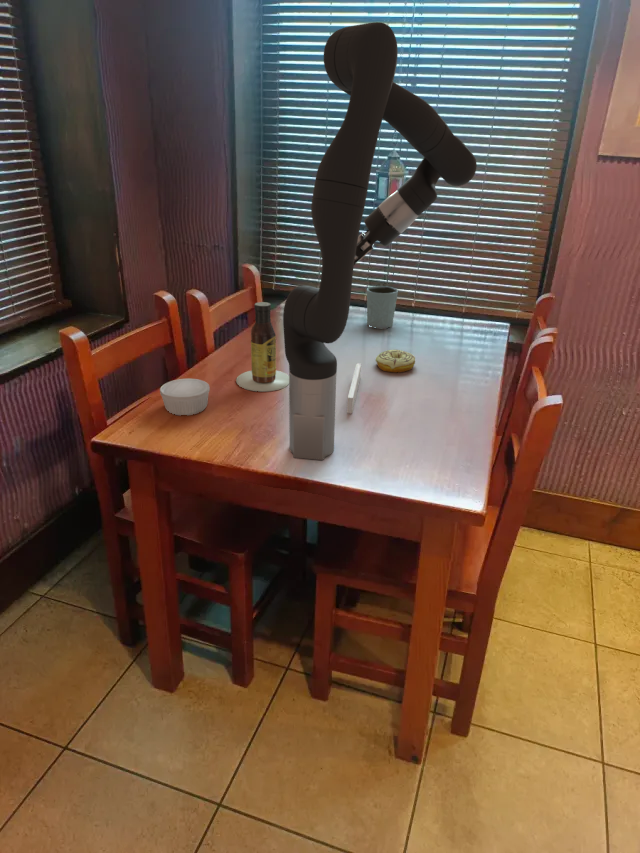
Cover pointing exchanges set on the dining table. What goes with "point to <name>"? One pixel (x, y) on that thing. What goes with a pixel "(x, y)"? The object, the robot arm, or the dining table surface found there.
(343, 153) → the robot arm
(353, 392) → the frosted wall
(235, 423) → the dining table surface
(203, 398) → the ramekin
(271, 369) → the sauce bottle
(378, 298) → the grey tapered cup
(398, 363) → the decorated donut
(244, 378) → the sage pad
